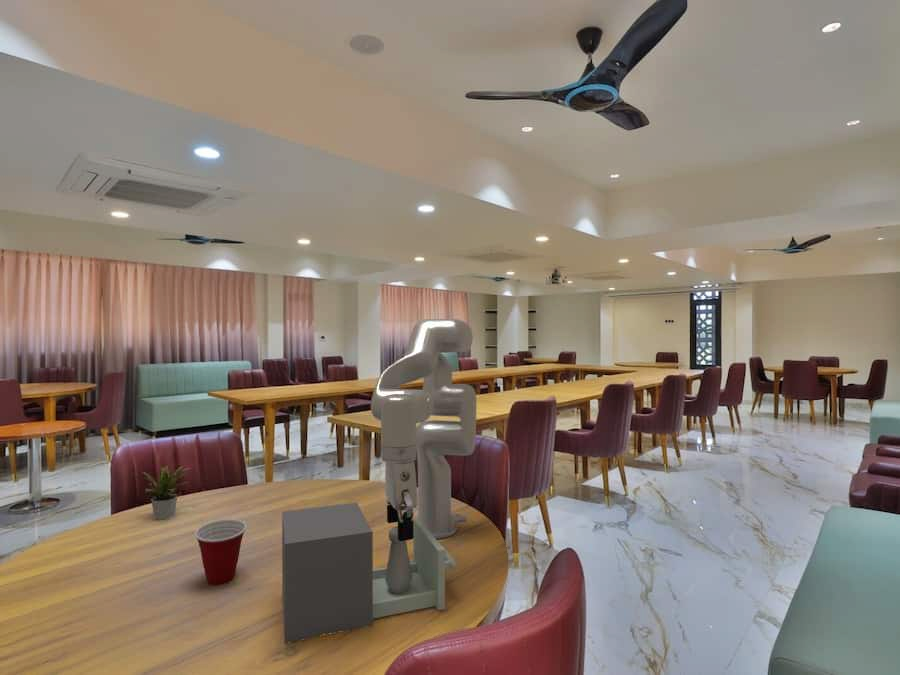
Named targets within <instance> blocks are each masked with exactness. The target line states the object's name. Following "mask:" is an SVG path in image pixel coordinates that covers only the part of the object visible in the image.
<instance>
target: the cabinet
mask: <svg viewBox="0 0 900 675" xmlns="http://www.w3.org/2000/svg"><path fill="white" fill-rule="evenodd" d="M281 515H282V516H281V518H282V519H281V520H282V521H281V522H282V524H281V525H282V526H281V527H282V528H281V531H282V532H281V534H282V535H281V537H282V538H281V539H282V540H281V541H282V542H281V544H282V548H281V549H282V552H281V553H282V554H281V556H282V557H281V559H282V560H281V562H282V563H281V565H282V568H281V570H282V573H281V574H282V576H281V578H282V579H281V582H282V583H281V584H282V588H281V590H282V592H281V593H282V594H281V595H282V596H281V597H282V599H281V600H282V612H283V613H282V615H283V636H284V637H283V638H284V639H285V640H284V644H285V643H287V644H289V643H288V642H292V643H294V642H293V641H296V642H300V641H299V640H301V641H303V640H302V639H306V640H309V639H308V638H311V639H313V638H312V637H316V636H320V635H323V634H329V633H334V632H339V631H345V632H347V631H346V630H349V631H353V630H352V629H354V630H358V629H357V628H359V629H362V628H361V627H364V628H366V627H365V626H369V627H372V626H371V625H373V621H374V619H373V569H374V568H373V566H374V565H373V561H374V560H373V558H374V557H373V549H374V548H373V540H374V539H373V538H374V537H373V536H374V534H373V533H374V532H373V530H372V528H371V527H370V524H369V522H368V521H367V519H366V517H365V515H364V513H363V511H362V510H361V508H360V506H359V504H358V502H350V503H342V504H335V505H326V506H317V507H309V508H300V509H291V510H289V509H288V510H283V511H282V514H281ZM316 638H317V637H316Z"/></svg>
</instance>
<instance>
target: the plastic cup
mask: <svg viewBox="0 0 900 675" xmlns="http://www.w3.org/2000/svg"><path fill="white" fill-rule="evenodd" d="M247 526H248V525H247V524H246V523H245V521H243V520H240V519H234V518H233V519H232V518H226V519H218V520H213V521H210V522H208V523H205V524H202V525H201V526H198V528H196V530H195V532H194V537H195V538H196V540H197V542H198V545H199V549H200V554H201V561H202V566H203V570H204V575H205V580H206V583H207V584H208V585H210V586H222V585H225V584H228V583H230V582H232V581H233V580H234V579H235V576H236V573H237V566H238V562H239V558H240V550H241V545H242V540H243V537H244V533H245V532H246V529H247Z"/></svg>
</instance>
